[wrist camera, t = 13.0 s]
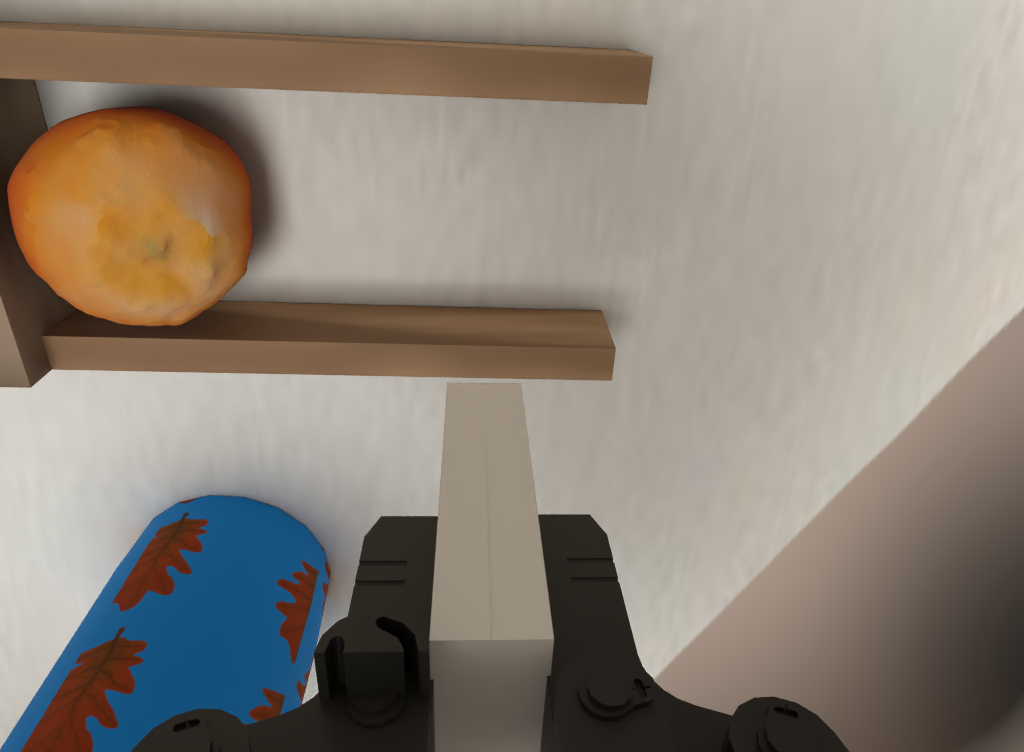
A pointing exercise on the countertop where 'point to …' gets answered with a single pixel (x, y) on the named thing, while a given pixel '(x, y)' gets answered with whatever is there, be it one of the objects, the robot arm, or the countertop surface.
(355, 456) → the countertop surface
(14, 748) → the thermos
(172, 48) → the guide lane
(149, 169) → the fruit
